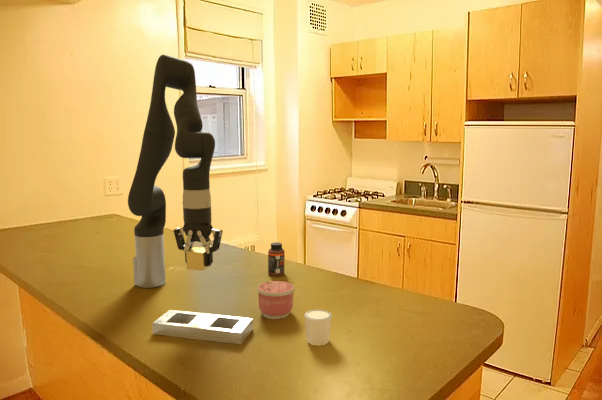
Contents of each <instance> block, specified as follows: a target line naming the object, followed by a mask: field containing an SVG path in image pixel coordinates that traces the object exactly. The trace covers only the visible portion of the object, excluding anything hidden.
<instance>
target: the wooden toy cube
mask: <svg viewBox="0 0 602 400" xmlns="http://www.w3.org/2000/svg"><path fill="white" fill-rule="evenodd" d="M205 254H206V251H205V249H204V247H200V246H199V247H197V246H195V247H192V249H190V250H188V251H187V252H186V259H187V263H186V270H189V271H190V270H192V271H193V270H194V271H205V270H207V269H209V267H211V266H212V264H211V265H210V266H209V267H207V266H206V258H205Z"/></svg>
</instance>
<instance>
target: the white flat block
mask: <svg viewBox="0 0 602 400" xmlns="http://www.w3.org/2000/svg"><path fill="white" fill-rule="evenodd" d="M151 325H152V326H151V327H152V334H153V335H157V336H158V335H160V336H166V337H167V336H168V337H175V338H176V337H177V338H183V339H193V340H201V341H210V342H216V343H217V342H218V343H226V344H235V345H242V344H243V343H244V341H245V340H246V338H247V337H248V336H249V335H250V333H251V332H252V331H253V330H254V318H250V317H243V316H234V315H233V316H232V315H226V314H225V315H224V314H216V313H215V314H214V313H213V314H212V313H205V312H195V311H187V310H175V309H174V310H173V309H168V310H167V311H166V312H165V313H164V314H162V315H161V316H160V317H158V318H157V319H155V320H154V321H153V322H152V324H151Z"/></svg>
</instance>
